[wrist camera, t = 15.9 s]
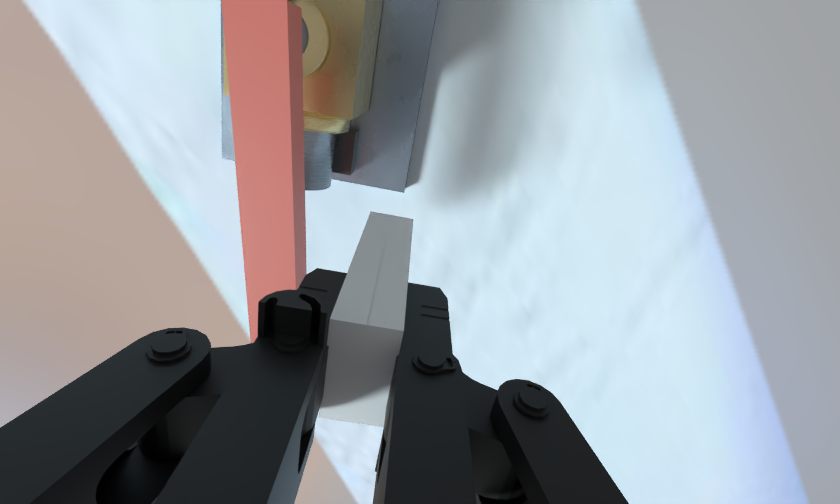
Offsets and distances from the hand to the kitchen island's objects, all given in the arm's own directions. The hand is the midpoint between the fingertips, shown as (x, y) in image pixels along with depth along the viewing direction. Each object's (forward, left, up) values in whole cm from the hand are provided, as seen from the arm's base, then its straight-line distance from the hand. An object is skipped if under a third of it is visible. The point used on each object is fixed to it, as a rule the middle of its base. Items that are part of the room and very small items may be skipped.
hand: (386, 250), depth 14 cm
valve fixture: (-6, -7, -19) cm, 21 cm away
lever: (+1, -6, -9) cm, 11 cm away
